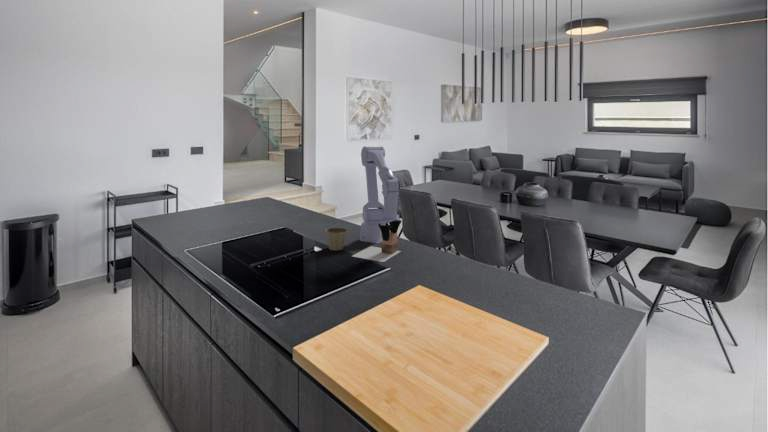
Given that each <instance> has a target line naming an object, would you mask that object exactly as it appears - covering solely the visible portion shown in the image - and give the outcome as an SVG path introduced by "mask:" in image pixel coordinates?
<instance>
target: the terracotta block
mask: <svg viewBox="0 0 768 432" xmlns="http://www.w3.org/2000/svg"><path fill="white" fill-rule="evenodd" d="M398 236H399V235H398V232H397V233H390V234H389V240H388V241H384V240H383V237H382V236H381V238H382V241H381V245H382V244H387V245H394V244H396V243H397V244H398Z"/></svg>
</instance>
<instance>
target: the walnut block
mask: <svg viewBox="0 0 768 432" xmlns="http://www.w3.org/2000/svg"><path fill="white" fill-rule="evenodd" d="M381 248H382V253H387V254H393V253H395V252H397V251H398V242H397V243H396V244H394V245H387V244H382V243H381Z"/></svg>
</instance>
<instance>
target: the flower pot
mask: <svg viewBox="0 0 768 432" xmlns="http://www.w3.org/2000/svg"><path fill="white" fill-rule="evenodd" d="M324 231H325V232H326V236H327V242H328V243H327V244H328V249H329V250H330V251H341V250H344V244H345V239H346V234H347V233H348V229H346V228H344V227H328V228H325V230H324Z"/></svg>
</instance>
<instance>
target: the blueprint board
mask: <svg viewBox="0 0 768 432" xmlns="http://www.w3.org/2000/svg"><path fill="white" fill-rule="evenodd" d="M401 252H402V251H401V250H397V252H395V253H393V254H387V253H382V247H379V246H378V247H377V246H373V245H370V246H368V247H366V248H364V249H362V250H360V251H359V252H357V253H355V254H353V255H352V258H353V257H354V258H359V259H364V260H370V261H375V262H381V263H384V262H386V261H388V260H389V259H391V258H393V257H394V256H396V255H398V254H399V253H401Z"/></svg>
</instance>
